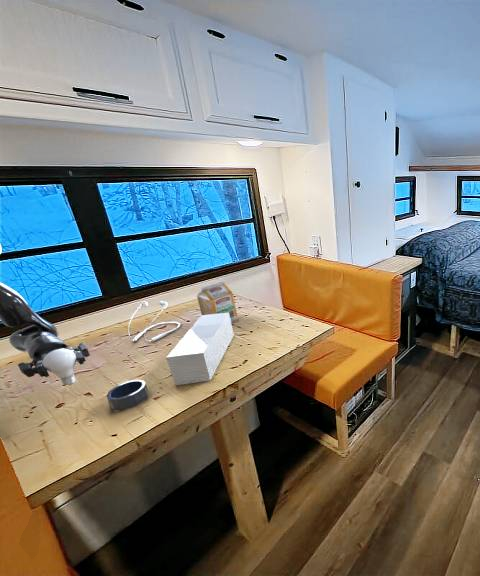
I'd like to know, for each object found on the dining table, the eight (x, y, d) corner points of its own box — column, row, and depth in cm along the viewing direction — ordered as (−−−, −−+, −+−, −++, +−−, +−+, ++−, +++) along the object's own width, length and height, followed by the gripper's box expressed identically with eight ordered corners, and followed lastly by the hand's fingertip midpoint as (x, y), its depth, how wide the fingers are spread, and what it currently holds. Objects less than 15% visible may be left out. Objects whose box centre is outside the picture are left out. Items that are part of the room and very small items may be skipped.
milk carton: (216, 329, 136) (207, 289, 130) (204, 324, 142) (194, 285, 135) (238, 320, 145) (230, 282, 138) (225, 315, 150) (217, 279, 144)
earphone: (116, 338, 122) (135, 298, 131) (146, 351, 137) (161, 314, 146) (149, 338, 122) (166, 298, 131) (175, 351, 136) (189, 314, 145)
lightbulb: (50, 387, 85) (34, 353, 81) (79, 375, 90) (65, 342, 87) (61, 393, 82) (44, 359, 79) (90, 380, 88) (76, 347, 84)
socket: (134, 410, 89) (130, 399, 88) (102, 411, 89) (98, 400, 88) (155, 389, 98) (152, 379, 97) (126, 390, 98) (122, 380, 96)
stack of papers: (207, 338, 129) (201, 315, 125) (233, 335, 131) (228, 312, 127) (175, 385, 100) (166, 357, 96) (210, 380, 102) (203, 352, 98)
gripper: (6, 350, 85) (19, 368, 76) (75, 329, 96) (93, 343, 87) (17, 372, 87) (31, 393, 79) (83, 350, 99) (102, 365, 90)
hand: (64, 367), depth 83 cm, fingers closed on lightbulb, 6 cm apart
